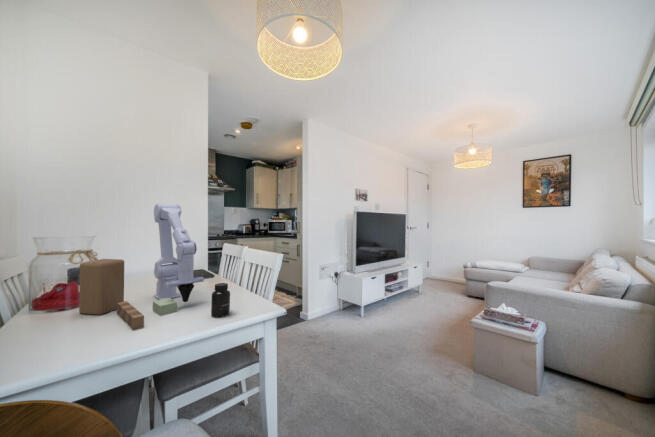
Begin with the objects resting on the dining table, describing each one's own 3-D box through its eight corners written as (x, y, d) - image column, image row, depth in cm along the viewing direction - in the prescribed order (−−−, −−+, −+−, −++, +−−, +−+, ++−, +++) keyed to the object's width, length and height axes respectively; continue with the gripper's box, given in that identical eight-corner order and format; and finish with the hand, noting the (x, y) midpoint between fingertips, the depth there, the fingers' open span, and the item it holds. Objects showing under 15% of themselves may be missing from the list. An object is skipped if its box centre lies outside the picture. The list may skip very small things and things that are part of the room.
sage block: (152, 311, 101) (152, 301, 101) (169, 307, 106) (169, 297, 105) (159, 316, 96) (160, 306, 96) (176, 311, 101) (177, 302, 101)
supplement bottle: (225, 318, 95) (225, 287, 95) (207, 317, 95) (208, 286, 95) (232, 311, 102) (233, 282, 102) (216, 310, 102) (216, 281, 102)
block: (124, 306, 104) (125, 259, 104) (101, 315, 95) (101, 263, 94) (103, 305, 105) (104, 258, 105) (77, 314, 96) (78, 262, 95)
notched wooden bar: (116, 313, 97) (117, 302, 97) (126, 310, 100) (126, 301, 100) (133, 330, 84) (133, 318, 84) (143, 327, 86) (144, 315, 86)
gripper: (170, 274, 98) (170, 308, 99) (207, 268, 110) (206, 299, 110) (164, 271, 103) (163, 304, 103) (199, 266, 114) (199, 295, 114)
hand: (185, 301), depth 107 cm, fingers closed
